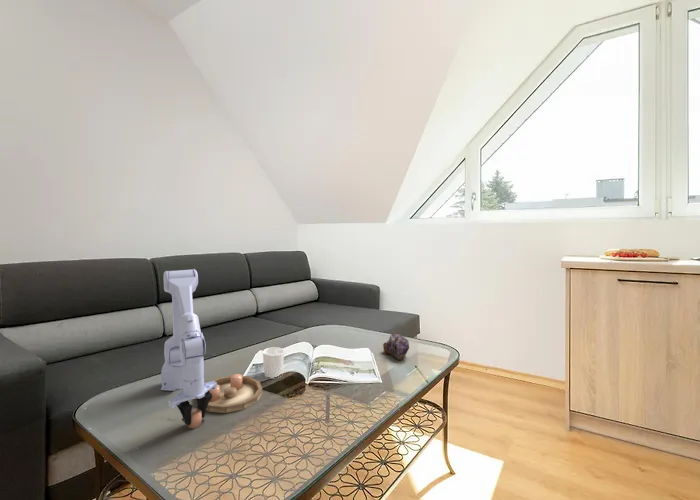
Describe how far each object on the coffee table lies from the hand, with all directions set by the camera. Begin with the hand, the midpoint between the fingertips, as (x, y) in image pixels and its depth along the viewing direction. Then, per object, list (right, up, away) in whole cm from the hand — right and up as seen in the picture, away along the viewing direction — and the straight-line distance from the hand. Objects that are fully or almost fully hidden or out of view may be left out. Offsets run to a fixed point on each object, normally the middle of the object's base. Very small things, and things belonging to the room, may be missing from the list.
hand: (194, 420), depth 112 cm
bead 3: (+6, +2, +21) cm, 22 cm away
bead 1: (0, -1, 0) cm, 2 cm away
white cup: (+17, +2, +32) cm, 36 cm away
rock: (+67, +4, +55) cm, 87 cm away
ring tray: (+6, +1, +16) cm, 17 cm away
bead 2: (+1, +1, +13) cm, 13 cm away
